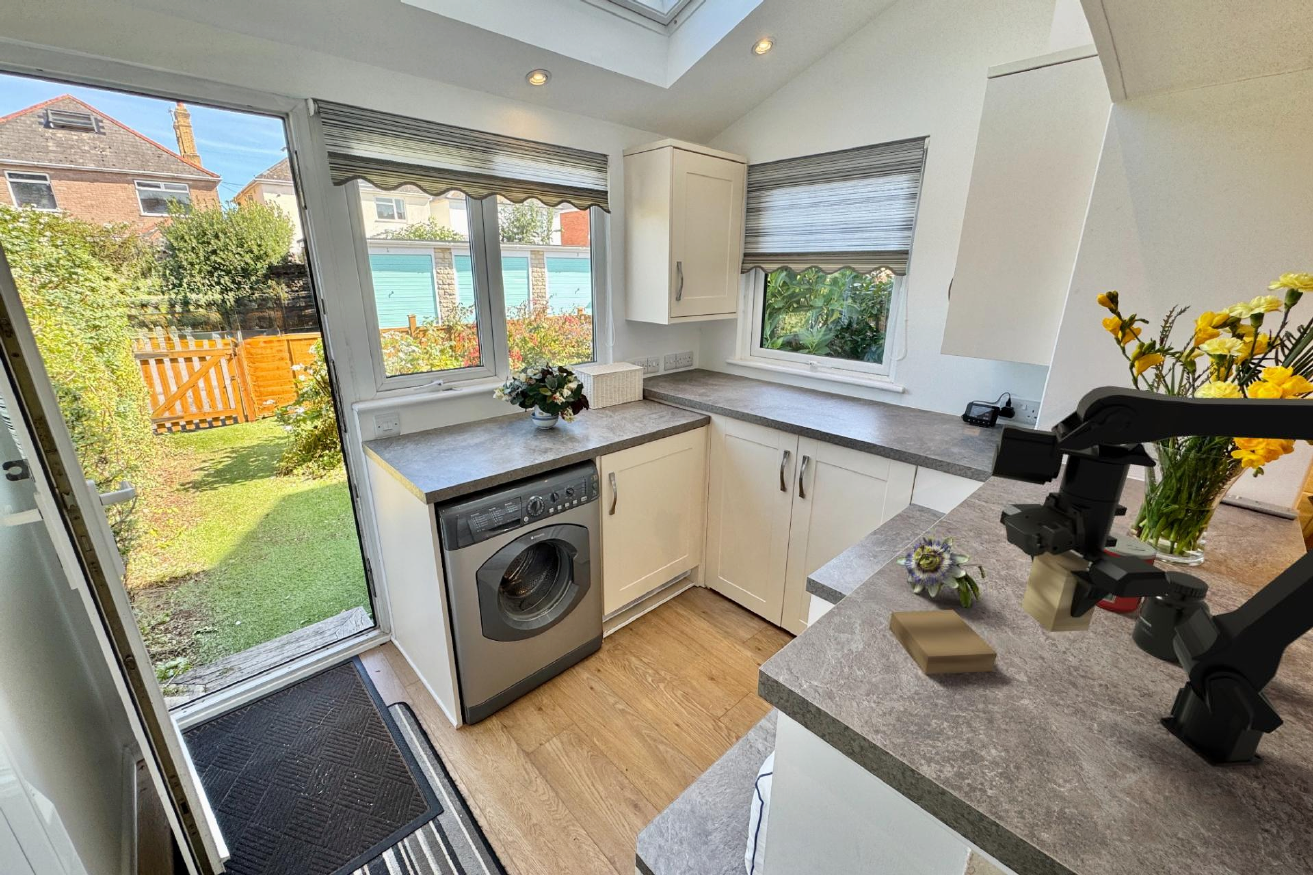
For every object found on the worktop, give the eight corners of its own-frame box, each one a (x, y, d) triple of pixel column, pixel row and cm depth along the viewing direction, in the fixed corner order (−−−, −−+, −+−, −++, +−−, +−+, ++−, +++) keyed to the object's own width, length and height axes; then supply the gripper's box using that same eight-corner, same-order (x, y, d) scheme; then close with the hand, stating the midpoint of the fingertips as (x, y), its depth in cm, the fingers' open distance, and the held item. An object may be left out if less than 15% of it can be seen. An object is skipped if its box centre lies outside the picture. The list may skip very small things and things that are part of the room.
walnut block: (992, 671, 74) (997, 653, 73) (925, 674, 73) (928, 656, 72) (949, 625, 84) (952, 609, 83) (889, 628, 83) (891, 612, 82)
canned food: (1149, 617, 87) (1169, 558, 83) (1094, 610, 88) (1111, 552, 85) (1120, 591, 94) (1137, 535, 91) (1069, 585, 95) (1085, 530, 92)
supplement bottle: (1120, 639, 81) (1142, 570, 78) (1147, 629, 84) (1170, 562, 80) (1174, 668, 75) (1201, 596, 72) (1202, 657, 77) (1230, 587, 74)
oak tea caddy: (1090, 631, 66) (1109, 569, 64) (1050, 632, 66) (1067, 571, 63) (1056, 605, 71) (1072, 547, 69) (1018, 606, 71) (1033, 548, 68)
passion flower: (913, 619, 94) (881, 557, 96) (949, 591, 99) (917, 532, 101) (969, 619, 84) (932, 549, 86) (1005, 588, 89) (969, 523, 91)
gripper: (974, 466, 71) (953, 567, 76) (1094, 529, 54) (1057, 656, 58) (1051, 465, 72) (1025, 565, 77) (1194, 527, 55) (1150, 652, 59)
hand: (1057, 603), depth 68 cm, fingers closed on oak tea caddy, 5 cm apart
